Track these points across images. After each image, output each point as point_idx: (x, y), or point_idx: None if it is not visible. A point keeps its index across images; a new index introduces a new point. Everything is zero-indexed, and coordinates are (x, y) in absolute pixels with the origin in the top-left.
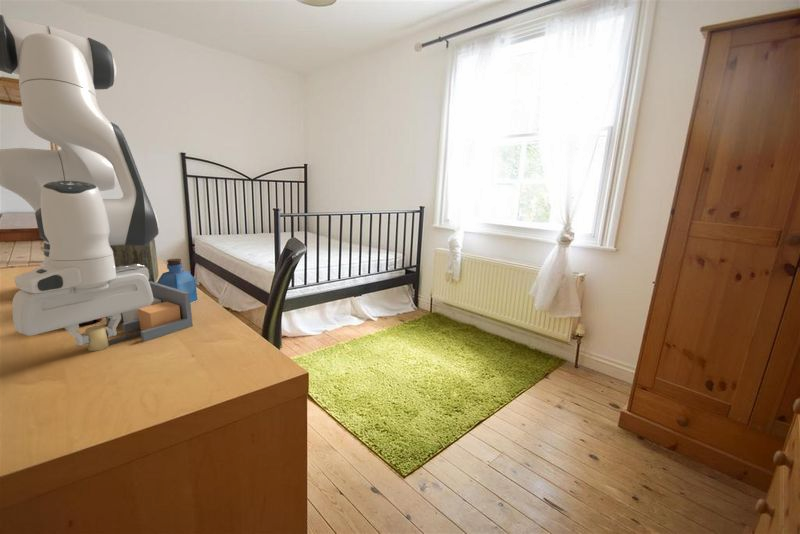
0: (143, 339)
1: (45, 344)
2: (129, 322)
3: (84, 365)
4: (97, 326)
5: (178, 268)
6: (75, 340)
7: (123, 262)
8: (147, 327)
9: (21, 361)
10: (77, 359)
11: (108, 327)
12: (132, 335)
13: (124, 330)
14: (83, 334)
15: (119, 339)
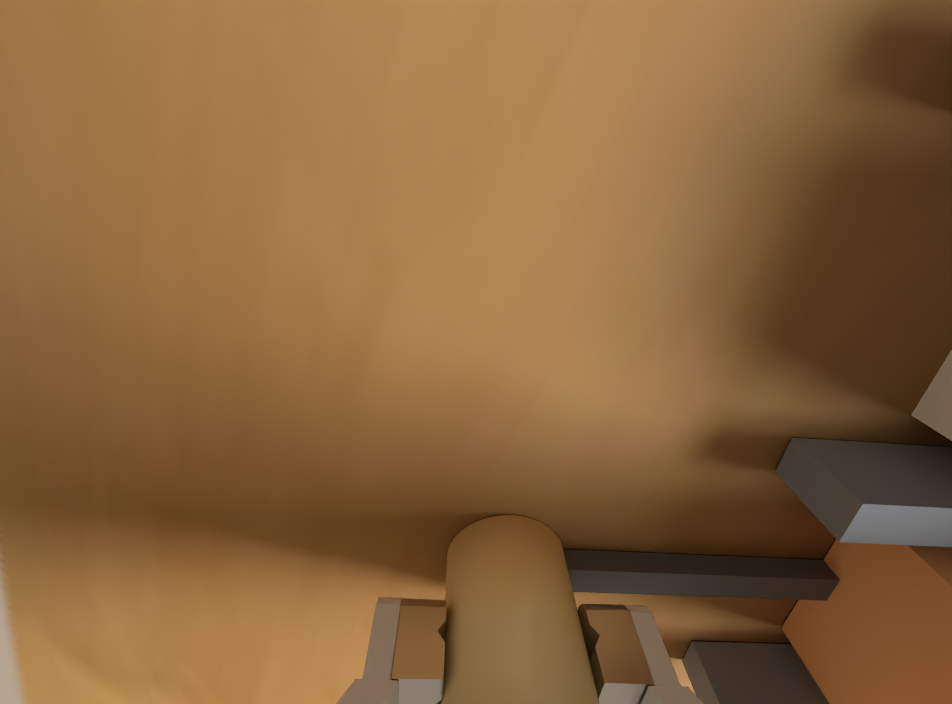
0: (690, 672)
1: (272, 100)
2: (903, 530)
3: (343, 684)
4: None
5: None
6: (372, 626)
7: None
8: (845, 637)
9: (60, 377)
10: (347, 610)
11: (634, 701)
12: (721, 594)
13: (797, 473)
14: (425, 696)
15: (634, 592)
